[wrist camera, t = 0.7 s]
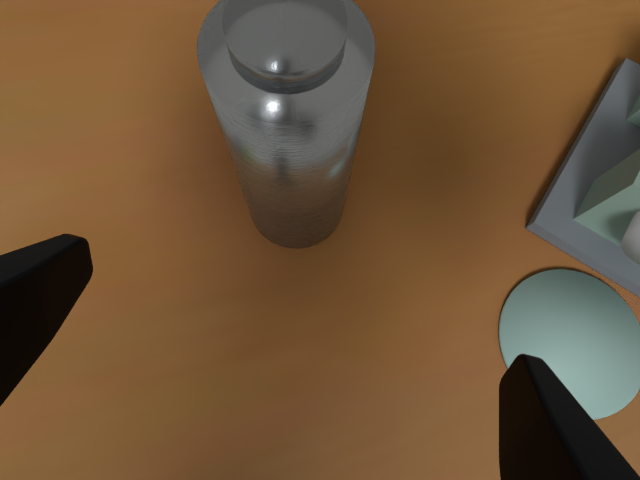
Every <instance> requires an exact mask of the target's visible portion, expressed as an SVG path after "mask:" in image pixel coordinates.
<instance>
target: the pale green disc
mask: <svg viewBox="0 0 640 480" xmlns="http://www.w3.org/2000/svg"><path fill="white" fill-rule="evenodd" d="M498 336H499V345H500V349H501V354H502V357H503V359H504V362H505V365H506V367H507V369H508V368H509V367H510V365H511V364H512V362H513V361H514V359H515V358H516V357H517V356H518V355H519V354H527V355H531V356H535V357H539V358H541V359H543V360H544V361H545V362H546V363H547V365H548V366H549V367H550V368H551V370H552V371H553V372H554V373H555V374H556V376H557V377H558V378H559V379H560V380H561V382H562V383H563V384H564V385H565V387H566V388H567V389H568V390H569V391H570V393H571V394H572V395H573V396H574V398H575V399H576V400H577V401H578V402H579V404H580V405H581V406H582V407H583V408H584V410H585V411H586V412H587V413H588V415H589V416H590V417H591V418H592V419H600V418H604V417H607V416H610V415H612V414H614V413H616V412H618V411H620V410H621V409H622V408H624V407H625V406H626V405H627V404H628V403H629V402H630V401H631V400H632V399H633V398H634V397H635V395H636V394H637V392H638V390H639V389H640V325H639V322H638V320H637V318H636V316H635V315H634V313H633V312H632V310H631V308H630V307H629V306H628V305H627V303H626V302H625V301H624V300H623V299H622V298H621V296H620V295H619V294H618V293H616V292H615V291H614V290H613V289H612V288H611V287H609V286H608V285H606V284H605V283H603V282H602V281H600V280H598V279H596V278H594V277H592V276H590V275H587V274H585V273H581V272H578V271H573V270H566V269H556V270H548V271H544V272H540V273H537V274H535V275H533V276H530V277H529V278H527V279H525V280H524V281H522V282H521V283H520V284H519V285H517V286H516V287H515V289H514V290H513V291H512V292H511V293H510V295H509V296H508V298H507V299H506V301H505V303H504V306H503V308H502V311H501V315H500V319H499V328H498Z"/></svg>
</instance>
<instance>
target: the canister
mask: <svg viewBox="0 0 640 480" xmlns="http://www.w3.org/2000/svg"><path fill="white" fill-rule="evenodd" d="M197 57H198V62H199V67H200V70H201V72H202V75H203V78H204V81H205V84H206V87H207V90H208V93H209V95H210V98H211V101H212V104H213V107H214V110H215V113H216V115H217V118H218V121H219V124H220V127H221V130H222V133H223V135H224V138H225V141H226V144H227V147H228V150H229V153H230V155H231V158H232V161H233V164H234V167H235V170H236V173H237V175H238V178H239V181H240V184H241V187H242V190H243V193H244V196H245V198H246V201H247V204H248V207H249V210H250V213H251V216H252V218H253V221H254V223H255V225H256V227H257V228H258V230H259V231H260V232H261V233H262V235H263V236H264V237H266V238H267V239H268V240H270V241H271V242H273V243H275V244H277V245H280V246H283V247H287V248H306V247H310V246H313V245H316V244H318V243H320V242H322V241H323V240H325V239H326V238H327V237H328V236H329V235H331V234H332V232H333V231H334V230H335V229H336V227H337V225H338V223H339V221H340V219H341V215H342V211H343V207H344V202H345V197H346V192H347V188H348V183H349V178H350V174H351V169H352V164H353V159H354V155H355V150H356V145H357V141H358V136H359V131H360V126H361V122H362V117H363V112H364V108H365V103H366V98H367V93H368V89H369V84H370V79H371V75H372V70H373V65H374V60H375V40H374V35H373V31H372V28H371V26H370V23H369V22H368V20H367V18H366V16H365V15H364V13H363V12H362V10H361V9H360V8H359V7H358V6H357V5H356V4H355V3H354V2H353V1H352V0H220V1H219V2H218V3H217V4H216V5H215V6H214V7H213V8H212V10H211V11H210V12H209V14H208V15H207V17H206V18H205V20H204V22H203V24H202V27H201V29H200V33H199V36H198V43H197Z"/></svg>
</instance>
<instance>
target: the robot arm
mask: <svg viewBox="0 0 640 480" xmlns="http://www.w3.org/2000/svg"><path fill="white" fill-rule="evenodd" d="M92 273H93V265H92V259H91V254H90V248H89V244H88V241H87V240H86V239H85V238H83V237H79V236H75V235H71V234H62V235H59V236H56V237H53V238H50V239H47V240H44V241H41V242H39V243H36V244H33V245H30V246H27V247H24V248H21V249H18V250H15V251H12V252H9V253H6V254H3V255H0V406H1V405H2V404H3V402H4V401H5V400H6V399H7V397H8V396H9V395H10V393H11V392H12V391H13V390H14V388H15V387H16V386H17V384H18V383H19V382H20V381H21V379H22V378H23V377H24V375H25V374H26V373H27V372H28V370H29V369H30V368H31V367H32V365H33V364H34V363H35V361H36V360H37V359H38V358H39V356H40V355H41V354H42V352H43V351H44V350H45V349H46V347H47V346H48V345H49V343H50V342H51V341H52V339H53V338H54V336H55V335H56V333H57V332H58V330H59V329H60V327H61V325H62V324H63V322H64V321H65V319H66V317H67V316H68V314H69V313H70V311H71V309H72V308H73V306H74V305H75V303H76V301H77V300H78V298H79V297H80V295H81V293H82V292H83V290H84V288H85V287H86V285H87V284H88V282H89V280H90V279H91V276H92ZM499 465H500V477H501V480H640V477H639V475H638V474H637V473H636V472H635V470H634V469H633V468H632V467H631V466H630V464H629V463H628V462H627V461H626V460H625V458H624V457H623V456H622V455H621V453H620V452H619V451H618V450H617V449H616V447H615V446H614V445H613V444H612V443H611V441H610V440H609V439H608V438H607V436H606V435H605V434H604V433H603V432H602V430H601V429H600V428H599V427H598V425H597V424H596V423H595V422H594V421H593V419H592V418H591V417H590V416H589V415H588V413H587V412H586V411H585V410H584V408H583V407H582V406H581V405H580V404H579V402H578V401H577V400H576V399H575V398H574V396H573V395H572V394H571V393H570V391H569V390H568V389H567V388H566V387H565V385H564V384H563V383H562V382H561V380H560V379H559V378H558V377H557V376H556V374H555V373H554V372H553V371H552V370H551V368H550V367H549V366H548V365H547V363H546V362H545V361H544V360H543V359H541V358H539V357H535V356H531V355H527V354H519V355H518V356H517V357H516V358H515V359H514V361H513V362H512V364H511V365H510V367H509V368H508V369H507V371H506V372H505V374H504V375H503V377H502V379H501V381H500V385H499Z"/></svg>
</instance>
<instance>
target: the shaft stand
mask: <svg viewBox="0 0 640 480" xmlns="http://www.w3.org/2000/svg"><path fill="white" fill-rule="evenodd" d="M526 229H527V230H529V231H531V232H532V233H534V234H536V235H537V236H539V237H541V238H542V239H544V240H546V241H547V242H549V243H551V244H552V245H554V246H556V247H557V248H559V249H561V250H562V251H564V252H565V253H567V254H569V255H570V256H572V257H574V258H575V259H577V260H579V261H580V262H582V263H584V264H585V265H587V266H589V267H590V268H592V269H594V270H595V271H597V272H599V273H600V274H602V275H604V276H605V277H607V278H609V279H610V280H612V281H614V282H615V283H617V284H618V285H620V286H622V287H623V288H625V289H627V290H628V291H630V292H632V293H633V294H635V295H637V296H638V297H640V65H639V64H637V63H635V62H633V61H632V60H630V59H628V58H626V59H625V60H624V61H623V62H622V63H621V64H620V65H619V66H618V67H617V68H616V69H615V71H614V72H613V74H612V76H611V78H610V80H609V81H608V83H607V85H606V87H605V88H604V90H603V92H602V94H601V95H600V97H599V99H598V101H597V102H596V104H595V106H594V108H593V110H592V111H591V113H590V115H589V117H588V118H587V120H586V122H585V124H584V125H583V127H582V129H581V131H580V133H579V134H578V136H577V138H576V140H575V141H574V143H573V145H572V147H571V148H570V150H569V152H568V154H567V155H566V157H565V159H564V161H563V163H562V164H561V166H560V168H559V170H558V171H557V173H556V175H555V177H554V178H553V180H552V182H551V184H550V186H549V187H548V189H547V191H546V193H545V194H544V196H543V198H542V200H541V201H540V203H539V205H538V207H537V209H536V210H535V212H534V214H533V216H532V217H531V219H530V221H529V223H528V224H527V226H526Z"/></svg>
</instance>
